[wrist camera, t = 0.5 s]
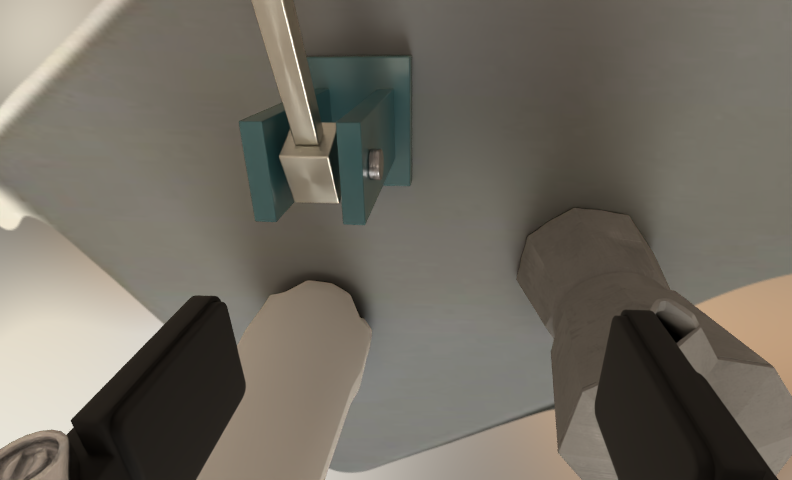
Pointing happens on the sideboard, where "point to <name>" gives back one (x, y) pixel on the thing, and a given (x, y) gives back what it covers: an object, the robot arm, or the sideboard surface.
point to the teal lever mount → (341, 134)
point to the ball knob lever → (299, 108)
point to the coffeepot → (607, 297)
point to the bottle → (293, 386)
